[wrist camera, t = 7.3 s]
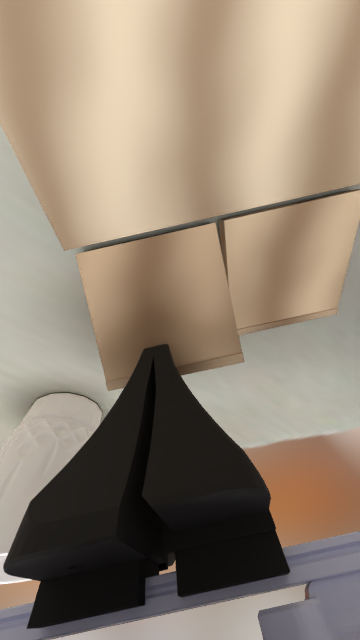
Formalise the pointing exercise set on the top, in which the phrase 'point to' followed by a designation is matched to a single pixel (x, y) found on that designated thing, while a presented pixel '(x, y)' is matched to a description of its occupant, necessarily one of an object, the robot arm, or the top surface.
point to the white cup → (39, 457)
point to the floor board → (177, 107)
